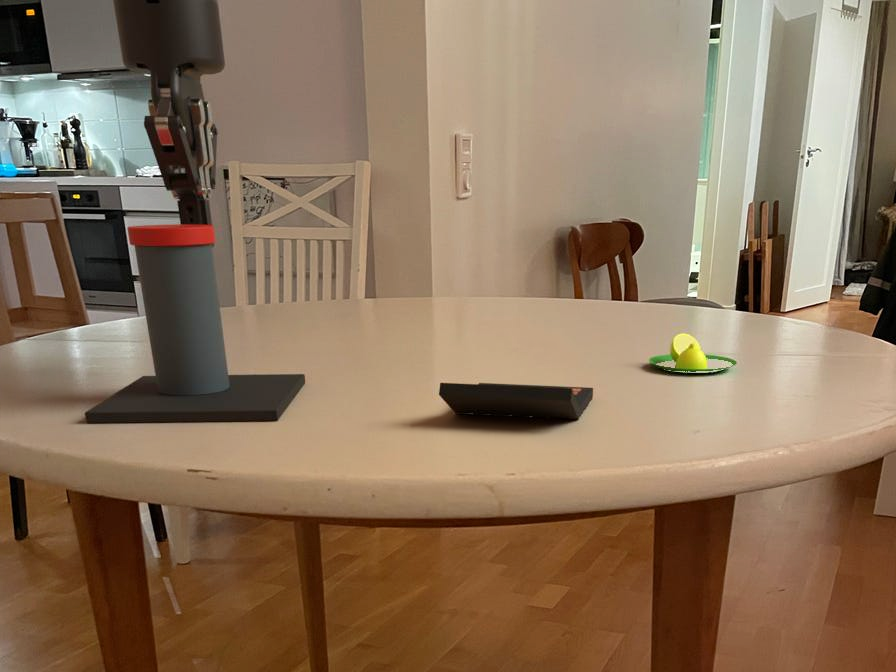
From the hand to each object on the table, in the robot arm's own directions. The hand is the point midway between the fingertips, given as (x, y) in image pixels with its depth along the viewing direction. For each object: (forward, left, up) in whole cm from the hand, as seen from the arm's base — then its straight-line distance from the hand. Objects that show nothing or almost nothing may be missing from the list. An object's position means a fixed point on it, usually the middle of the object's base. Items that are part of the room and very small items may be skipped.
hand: (199, 249), depth 76 cm
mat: (+1, -8, -11) cm, 14 cm away
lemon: (+43, +4, -11) cm, 44 cm away
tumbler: (0, -7, -10) cm, 12 cm away
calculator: (+26, -13, -11) cm, 31 cm away
